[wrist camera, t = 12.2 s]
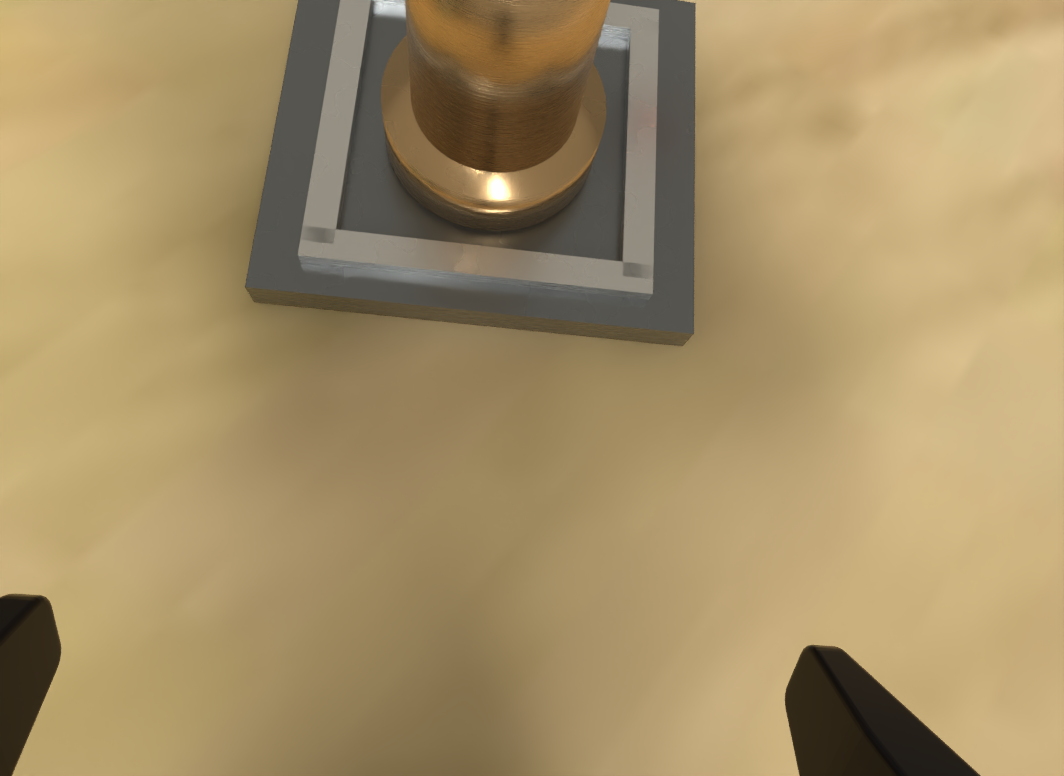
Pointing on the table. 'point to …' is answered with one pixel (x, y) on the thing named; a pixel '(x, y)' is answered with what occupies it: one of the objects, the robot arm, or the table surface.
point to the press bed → (470, 254)
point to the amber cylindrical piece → (495, 107)
